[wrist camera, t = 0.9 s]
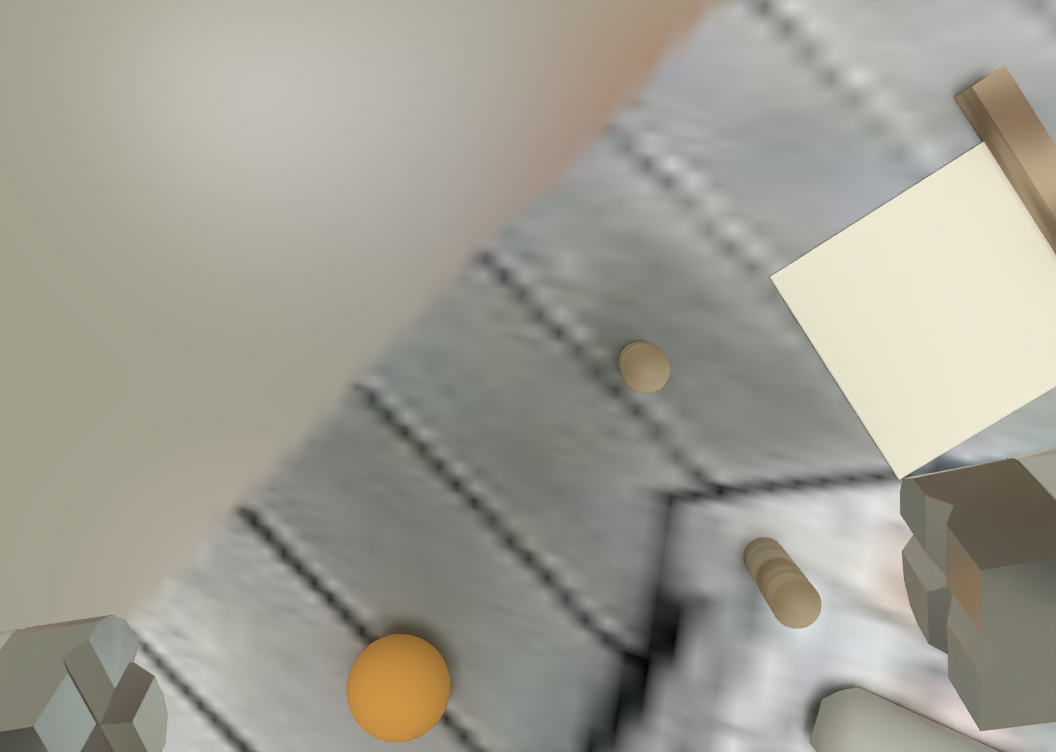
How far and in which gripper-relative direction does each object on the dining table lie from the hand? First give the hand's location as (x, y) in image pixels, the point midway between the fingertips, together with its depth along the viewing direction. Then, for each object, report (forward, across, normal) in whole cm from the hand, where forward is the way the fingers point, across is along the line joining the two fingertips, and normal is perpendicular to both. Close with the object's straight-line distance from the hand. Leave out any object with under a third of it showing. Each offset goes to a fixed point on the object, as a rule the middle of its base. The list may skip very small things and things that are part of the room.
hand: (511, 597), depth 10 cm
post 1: (+42, +4, -17) cm, 46 cm away
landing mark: (+42, +21, -18) cm, 50 cm away
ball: (+33, -14, -31) cm, 48 cm away
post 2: (+37, +9, -29) cm, 48 cm away
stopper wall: (+43, +28, -15) cm, 53 cm away
